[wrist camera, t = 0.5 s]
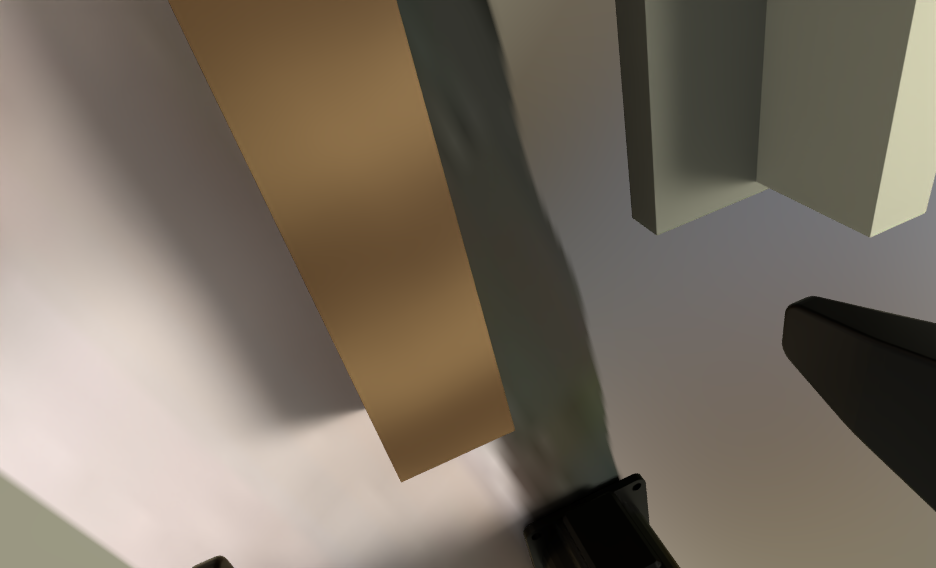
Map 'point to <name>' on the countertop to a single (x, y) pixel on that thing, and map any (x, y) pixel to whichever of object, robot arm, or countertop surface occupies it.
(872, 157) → the ridge stand
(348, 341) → the walnut beam
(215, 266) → the countertop surface
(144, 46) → the countertop surface
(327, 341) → the countertop surface
